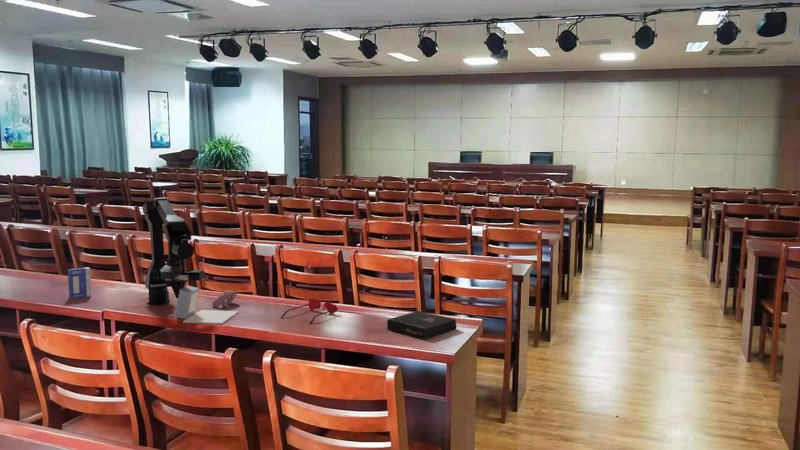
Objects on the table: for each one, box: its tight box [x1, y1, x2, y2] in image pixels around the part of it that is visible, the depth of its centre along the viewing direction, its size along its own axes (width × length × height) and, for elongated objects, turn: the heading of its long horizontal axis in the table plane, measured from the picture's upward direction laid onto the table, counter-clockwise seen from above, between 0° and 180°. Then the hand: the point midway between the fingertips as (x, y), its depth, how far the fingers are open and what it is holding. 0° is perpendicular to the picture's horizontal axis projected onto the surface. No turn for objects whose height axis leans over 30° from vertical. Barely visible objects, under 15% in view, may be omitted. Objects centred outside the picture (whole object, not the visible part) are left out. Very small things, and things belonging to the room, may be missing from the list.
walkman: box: [67, 266, 92, 300], centre depth 252 cm, size 8×3×12 cm, turn 134°
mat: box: [182, 309, 239, 325], centre depth 224 cm, size 14×16×1 cm
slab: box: [174, 285, 200, 320], centre depth 225 cm, size 4×7×10 cm, turn 174°
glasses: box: [279, 298, 339, 325], centre depth 228 cm, size 14×16×5 cm
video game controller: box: [211, 290, 238, 308], centre depth 242 cm, size 10×5×7 cm, turn 161°
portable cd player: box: [386, 310, 457, 341], centre depth 213 cm, size 16×17×4 cm
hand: (178, 298), depth 225 cm, fingers closed
